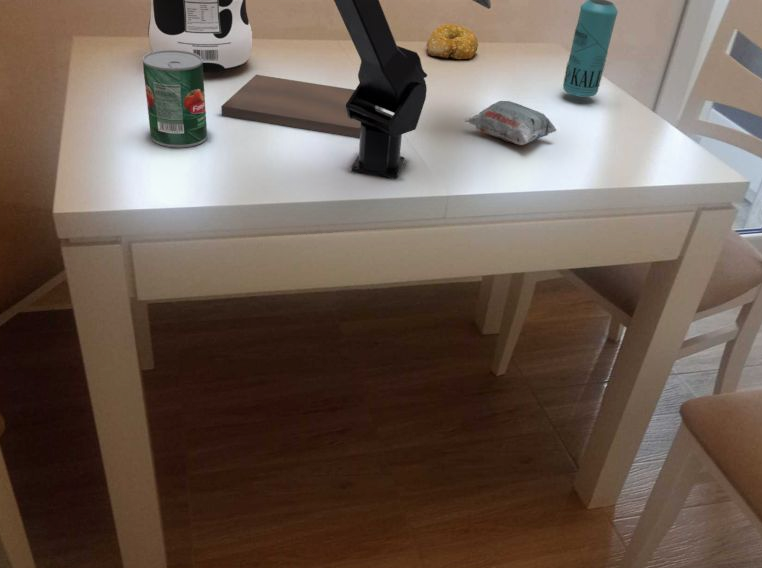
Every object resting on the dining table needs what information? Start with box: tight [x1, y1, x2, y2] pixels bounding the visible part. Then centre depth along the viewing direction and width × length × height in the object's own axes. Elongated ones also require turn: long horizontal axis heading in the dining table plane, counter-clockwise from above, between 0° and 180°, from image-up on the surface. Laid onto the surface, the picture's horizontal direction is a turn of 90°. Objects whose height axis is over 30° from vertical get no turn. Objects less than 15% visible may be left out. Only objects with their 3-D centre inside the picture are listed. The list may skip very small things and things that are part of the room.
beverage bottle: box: [562, 0, 619, 98], centre depth 133 cm, size 6×7×20 cm
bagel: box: [426, 23, 479, 60], centre depth 153 cm, size 10×11×5 cm
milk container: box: [147, 0, 253, 74], centre depth 130 cm, size 17×17×18 cm
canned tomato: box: [141, 50, 208, 149], centre depth 107 cm, size 8×8×11 cm
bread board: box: [220, 74, 381, 139], centre depth 123 cm, size 16×22×2 cm
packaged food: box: [463, 100, 557, 146], centre depth 120 cm, size 9×12×5 cm
